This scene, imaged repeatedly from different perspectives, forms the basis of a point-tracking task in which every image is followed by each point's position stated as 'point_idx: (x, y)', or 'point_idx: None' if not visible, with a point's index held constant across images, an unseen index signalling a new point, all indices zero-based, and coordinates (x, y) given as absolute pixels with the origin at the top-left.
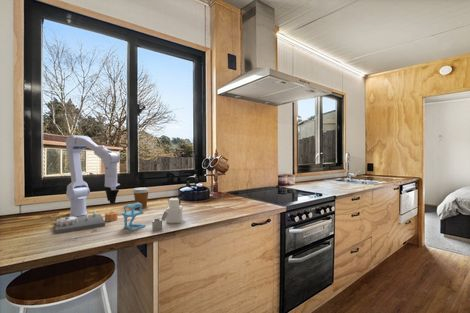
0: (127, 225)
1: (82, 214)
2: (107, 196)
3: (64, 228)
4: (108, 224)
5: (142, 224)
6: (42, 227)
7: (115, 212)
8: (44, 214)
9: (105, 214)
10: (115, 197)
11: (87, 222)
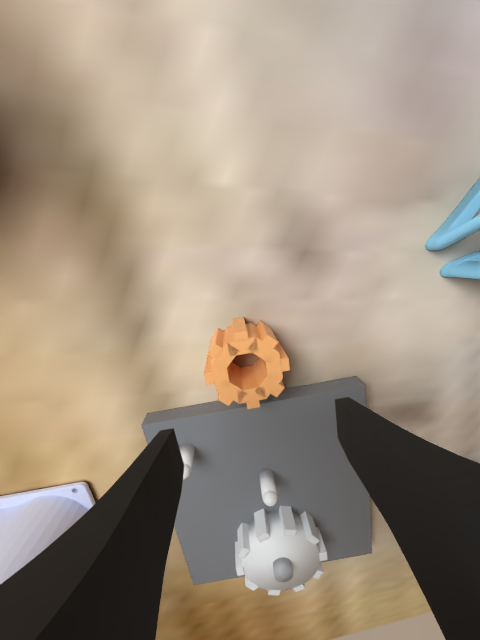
0: (472, 259)
1: (84, 505)
2: (172, 526)
3: (365, 530)
4: (339, 361)
5: None
6: (248, 590)
7: (243, 344)
8: None
9: (258, 403)
10: (412, 441)
11: (313, 464)
